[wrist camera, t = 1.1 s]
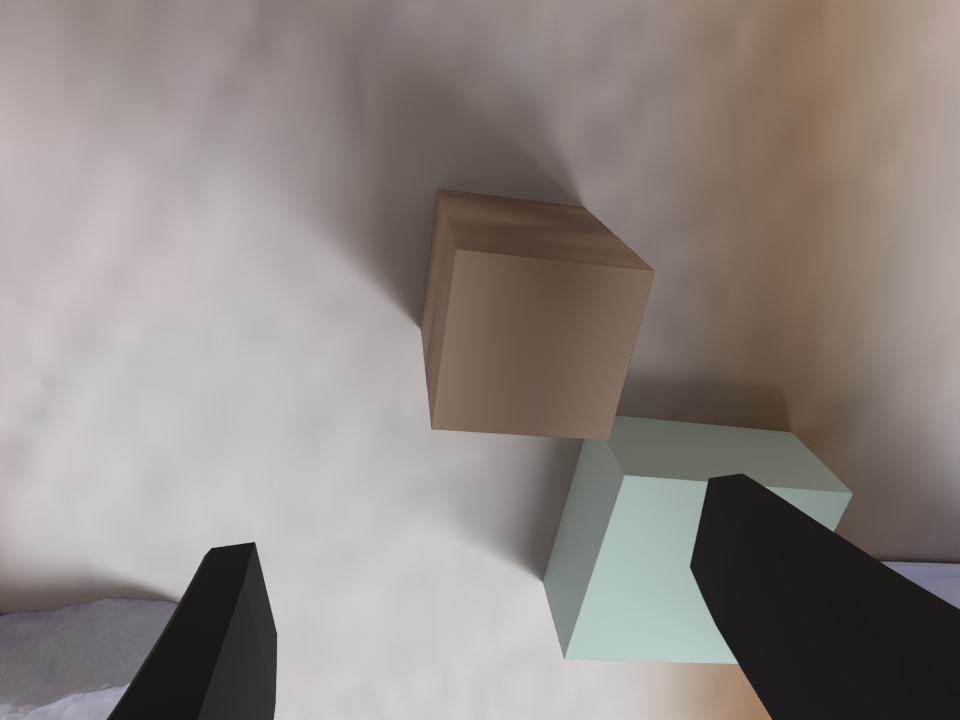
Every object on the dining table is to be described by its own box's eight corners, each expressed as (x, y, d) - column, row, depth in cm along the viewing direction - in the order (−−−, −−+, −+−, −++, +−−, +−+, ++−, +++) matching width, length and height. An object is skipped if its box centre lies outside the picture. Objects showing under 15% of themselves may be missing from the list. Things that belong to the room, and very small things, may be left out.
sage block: (787, 428, 25) (853, 493, 22) (719, 585, 29) (766, 664, 25) (589, 408, 24) (624, 475, 20) (541, 577, 27) (564, 659, 24)
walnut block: (584, 207, 20) (654, 271, 15) (555, 341, 22) (608, 440, 17) (437, 188, 19) (456, 249, 14) (421, 329, 21) (431, 429, 16)
